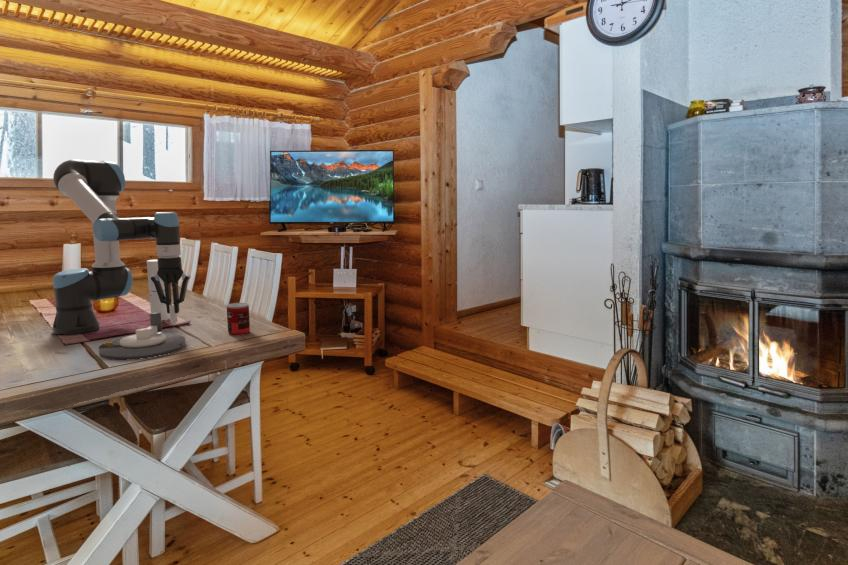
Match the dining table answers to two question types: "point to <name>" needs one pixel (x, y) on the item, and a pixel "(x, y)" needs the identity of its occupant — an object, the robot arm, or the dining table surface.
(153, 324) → the dial
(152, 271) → the cylindrical container
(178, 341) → the dial plate
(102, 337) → the dining table surface
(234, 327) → the canned food
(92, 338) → the dining table surface
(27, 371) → the dining table surface
